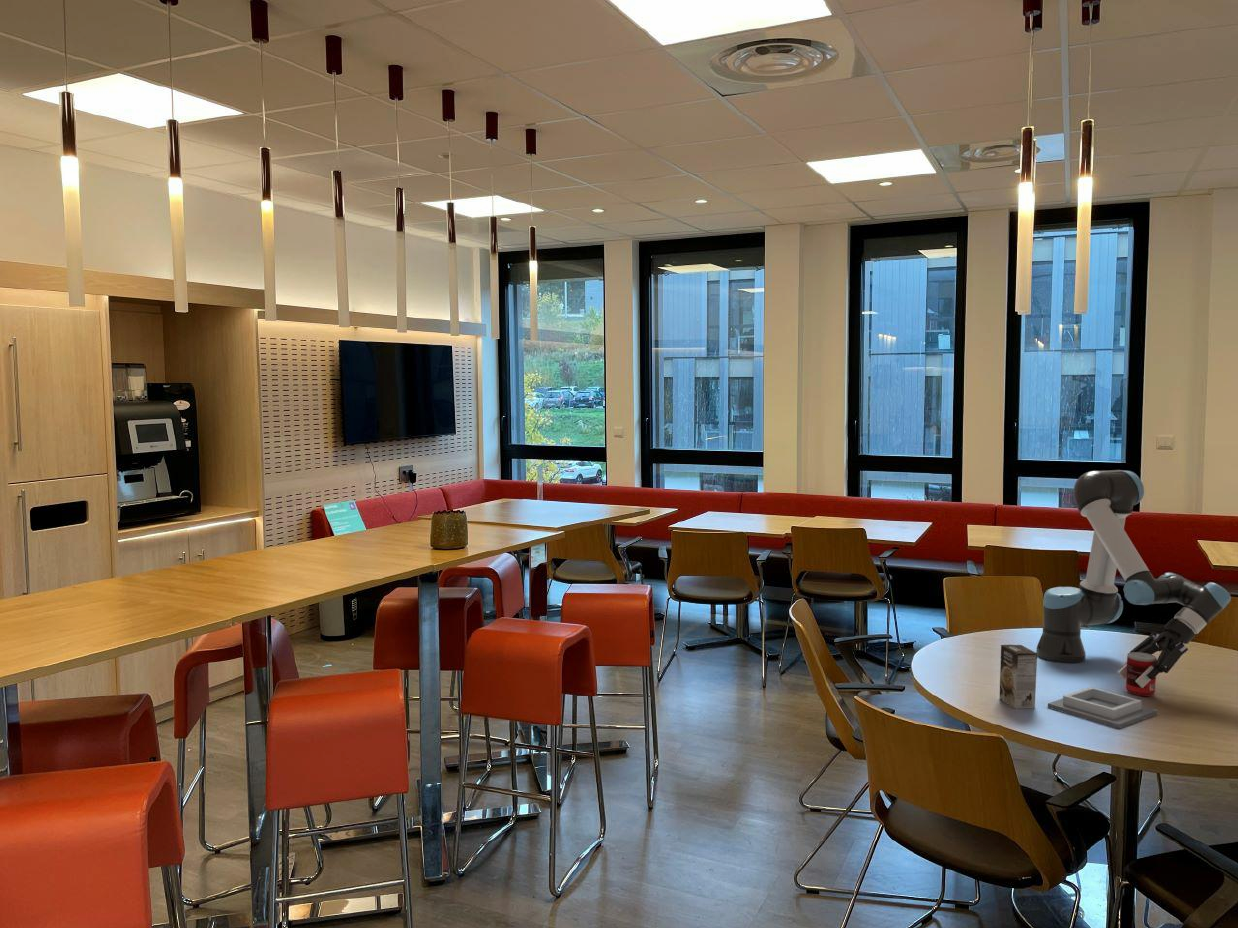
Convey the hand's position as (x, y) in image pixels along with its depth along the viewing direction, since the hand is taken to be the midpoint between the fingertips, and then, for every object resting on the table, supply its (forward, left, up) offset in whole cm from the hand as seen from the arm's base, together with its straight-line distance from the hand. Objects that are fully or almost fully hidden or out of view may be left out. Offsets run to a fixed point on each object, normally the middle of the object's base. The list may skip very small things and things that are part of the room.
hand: (1129, 679), depth 270 cm
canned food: (+2, +3, -4) cm, 5 cm away
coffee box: (-13, -36, -4) cm, 39 cm away
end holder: (+4, -22, -4) cm, 23 cm away
